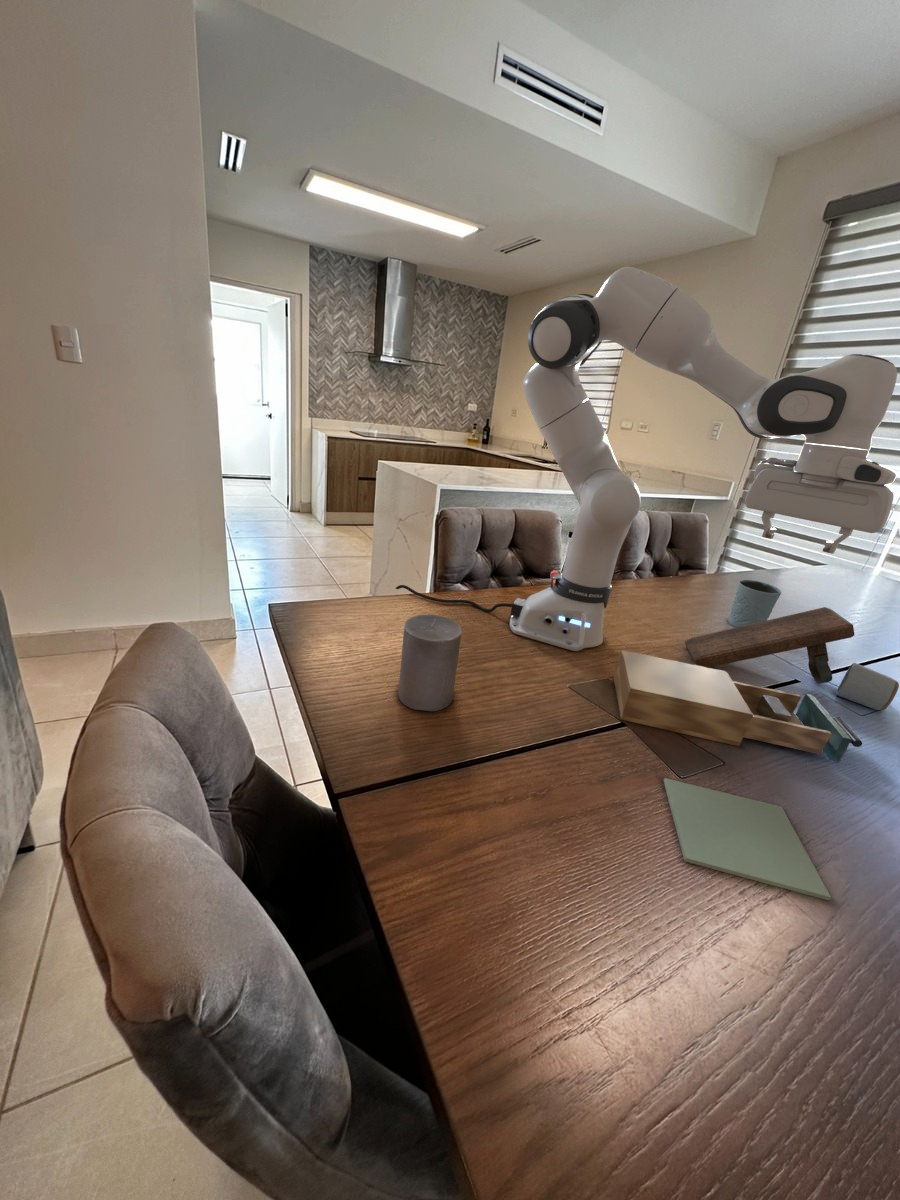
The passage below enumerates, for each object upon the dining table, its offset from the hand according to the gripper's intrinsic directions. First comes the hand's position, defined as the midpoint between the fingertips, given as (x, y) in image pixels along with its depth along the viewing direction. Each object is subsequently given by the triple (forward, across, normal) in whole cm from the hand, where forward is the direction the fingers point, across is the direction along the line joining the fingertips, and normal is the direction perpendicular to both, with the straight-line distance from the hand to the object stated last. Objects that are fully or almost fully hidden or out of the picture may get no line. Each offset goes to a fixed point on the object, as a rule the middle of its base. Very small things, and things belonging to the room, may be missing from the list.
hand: (796, 544), depth 84 cm
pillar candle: (+31, -33, -55) cm, 71 cm away
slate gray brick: (+30, +8, -8) cm, 32 cm away
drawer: (+31, +9, -7) cm, 33 cm away
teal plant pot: (+32, -13, +44) cm, 56 cm away
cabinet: (+32, -6, -18) cm, 37 cm away
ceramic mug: (+32, +16, +24) cm, 43 cm away
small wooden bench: (+32, -2, +16) cm, 36 cm away
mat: (+32, +13, -39) cm, 52 cm away
